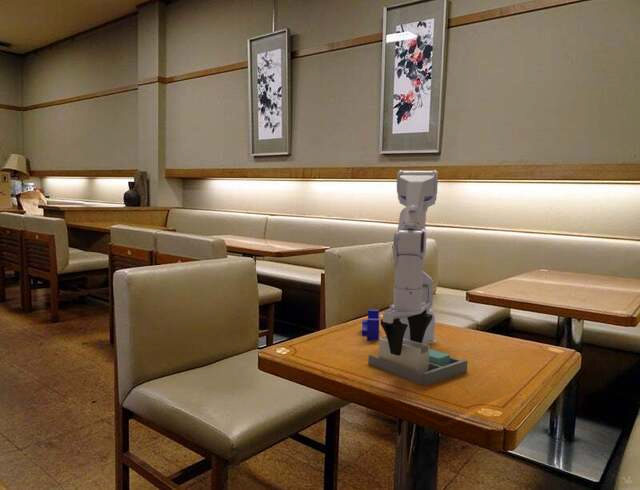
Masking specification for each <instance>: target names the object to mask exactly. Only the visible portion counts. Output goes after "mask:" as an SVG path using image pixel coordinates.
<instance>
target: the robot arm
mask: <svg viewBox="0 0 640 490" xmlns="http://www.w3.org/2000/svg"><path fill="white" fill-rule="evenodd" d="M438 182H439V172H438V171H437V169H436V170H435V169H433V170H403V169H399V171H398V172H397V175H396V193H397V199H398V201H399V204H400V205H402V206H404V207H403V208H402V210H401V211H400V213H399V220H398V224H397V226H398V227H397V232H396V231H395V232H394V234H393V240H392V241H393V243H392V248H393V250H392V252H393V265H394V266H395V268H394V285H393V295H392V297H393V298H392V301H393V304H389V309H388V310H386V311H383V312H382V318H381V319H380V325H381V327H382V330H383V331H384V333H385V336H387V340H388V344H389V348H390V353H391V354H394V355H397V356H399V355H400V354H401V351H402V343H403V339H407V340H410V341H414V342H418V343H422V344H426V345H430V344H433V343H436V342H437V340H435V328H436V318H435V314H434V311H433V310H432V307H433V300H434V280H433V278H432V277H431V276H430V275H429V274H428V273H426V272H425V271H424V258H425V256H426V254H427V253H426V251H427V233H426V222H427V211H428V209H429V207H431V206H432V207H433V206H434V205H436V201H437V197H438V196H437V195H438V186H439V185H438V184H439V183H438Z"/></svg>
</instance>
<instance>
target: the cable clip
mask: <svg viewBox="0 0 640 490" xmlns="http://www.w3.org/2000/svg"><path fill="white" fill-rule="evenodd" d="M379 335H380V310H379V309H367V319H362V321H361V336H366V341H367V342H369V341H379V339H380V337H379Z"/></svg>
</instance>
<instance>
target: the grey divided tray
mask: <svg viewBox="0 0 640 490" xmlns="http://www.w3.org/2000/svg"><path fill="white" fill-rule="evenodd" d="M367 362H368V365H370V366H373V367H374V368H375V367H376V368H377V369H380V370H383V371H386V372H388V373H391V374H393V375H396V376H398V377H401V378H404V379H406V380H409V381H411V382H413V383H416V384H418V385H420V386H424V387H427V386H430V385H432V384H433V385H434V384H435V383H439V382H441V381H444V380H448V379H450V378H453V377H456V376H458V375H462V374H465V373H467V372H468V360H467V359H458V358H455V357H453V356H450V364H449V365H446V366H443V367H442V366H439V365H436V364H433V363H430V362H429V369H428V371H427V372H424V373H419V372H417V371H414V370H411V369H409V368H406V367H403V366H401V365H398V364H395V363H392V362H390V361H387V360H384V359H382V358H379V356H376V355H373V354H368V360H367Z"/></svg>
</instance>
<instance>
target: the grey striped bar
mask: <svg viewBox="0 0 640 490" xmlns="http://www.w3.org/2000/svg"><path fill="white" fill-rule="evenodd" d="M378 341H379V342H378V357H379V358H382V359H384V360H387V361H390V362H392V363H395V364H398V365H401V366H403V367H406V368H409V369H411V370H414V371H417V372H419V373H424V372H427V371H428V369H429V349H430V344H422V343H418V342H414V341H410V340H407V339H403V343H402V351H401V354H400V355H399V356H397V355H394V354H391V353H390V348H389V344H388V340H387V336H386V335H384V336H382V337H379V340H378Z"/></svg>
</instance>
